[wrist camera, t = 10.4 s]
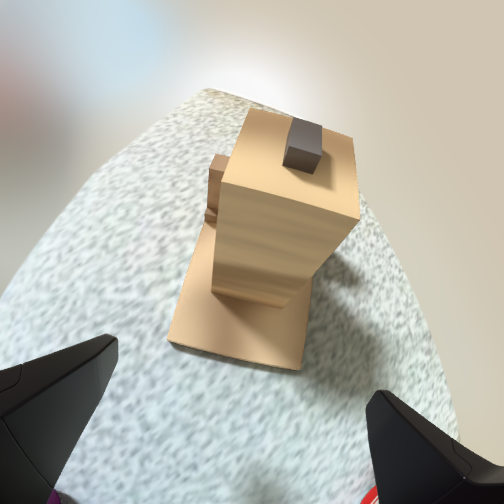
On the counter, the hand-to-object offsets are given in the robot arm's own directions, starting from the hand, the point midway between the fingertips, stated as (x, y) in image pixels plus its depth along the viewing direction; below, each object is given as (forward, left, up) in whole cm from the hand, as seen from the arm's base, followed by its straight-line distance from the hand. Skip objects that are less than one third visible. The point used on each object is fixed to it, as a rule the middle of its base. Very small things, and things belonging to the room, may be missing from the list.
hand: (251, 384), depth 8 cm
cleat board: (+6, -4, -10) cm, 12 cm away
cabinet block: (+7, -5, -9) cm, 12 cm away
